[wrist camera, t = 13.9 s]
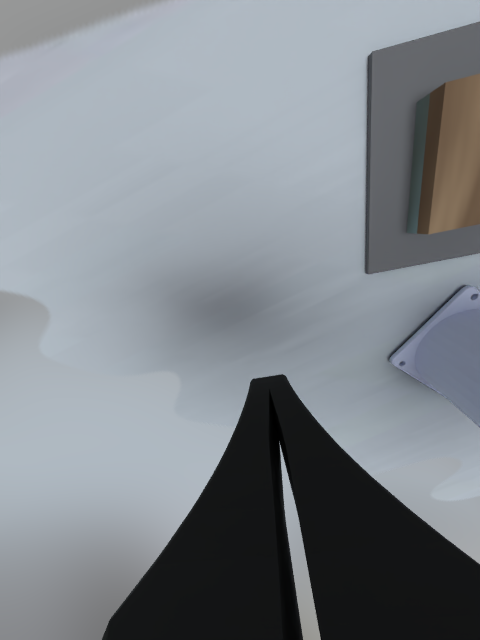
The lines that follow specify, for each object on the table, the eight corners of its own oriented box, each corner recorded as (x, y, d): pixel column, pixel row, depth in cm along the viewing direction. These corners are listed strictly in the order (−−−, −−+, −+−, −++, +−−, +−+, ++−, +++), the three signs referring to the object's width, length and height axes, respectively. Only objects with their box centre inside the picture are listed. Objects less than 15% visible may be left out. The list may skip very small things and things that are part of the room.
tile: (416, 102, 13) (514, 77, 12) (406, 232, 16) (486, 216, 15) (445, 82, 11) (561, 52, 11) (428, 234, 14) (519, 215, 13)
